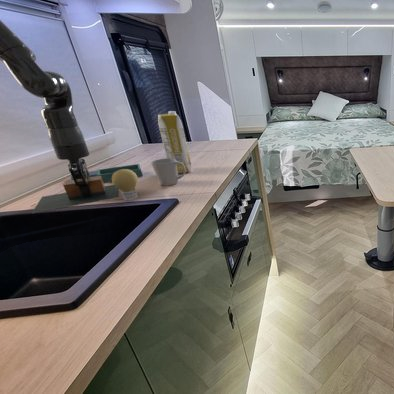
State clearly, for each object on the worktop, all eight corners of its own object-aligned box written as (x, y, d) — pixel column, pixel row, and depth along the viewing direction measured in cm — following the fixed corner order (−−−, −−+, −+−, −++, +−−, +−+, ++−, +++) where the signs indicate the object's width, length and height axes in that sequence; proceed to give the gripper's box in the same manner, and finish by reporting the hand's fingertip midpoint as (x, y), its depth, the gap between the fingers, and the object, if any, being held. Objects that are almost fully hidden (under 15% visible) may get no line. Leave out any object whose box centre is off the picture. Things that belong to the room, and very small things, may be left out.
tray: (100, 184, 106) (96, 175, 105) (100, 178, 113) (97, 169, 111) (143, 177, 113) (140, 168, 112) (141, 172, 120) (139, 163, 119)
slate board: (32, 215, 82) (31, 213, 82) (42, 198, 94) (42, 196, 94) (119, 198, 93) (119, 196, 93) (119, 185, 105) (118, 183, 105)
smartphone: (70, 174, 113) (117, 166, 122) (72, 178, 114) (119, 169, 123) (70, 179, 108) (119, 169, 117) (72, 183, 109) (121, 173, 117)
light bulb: (117, 200, 92) (106, 169, 88) (140, 194, 96) (131, 165, 93) (121, 205, 88) (111, 174, 84) (146, 199, 92) (137, 169, 89)
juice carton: (193, 172, 119) (180, 111, 110) (171, 175, 115) (155, 113, 106) (190, 166, 126) (177, 109, 117) (169, 170, 122) (154, 111, 113)
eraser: (69, 200, 91) (63, 185, 89) (71, 195, 94) (65, 180, 93) (105, 193, 96) (100, 179, 94) (106, 189, 99) (101, 175, 97)
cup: (160, 181, 109) (154, 159, 105) (189, 178, 112) (184, 156, 108) (155, 188, 102) (148, 164, 99) (186, 184, 105) (181, 161, 102)
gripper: (55, 140, 92) (75, 190, 98) (47, 147, 81) (70, 203, 88) (86, 137, 96) (103, 185, 102) (82, 144, 85) (101, 197, 92)
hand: (88, 193), depth 95 cm, fingers closed on eraser, 5 cm apart
